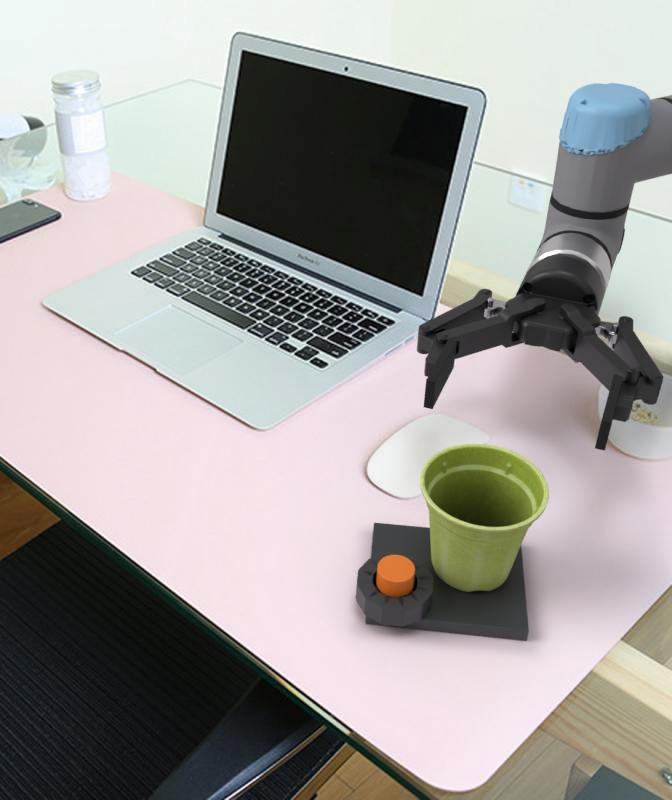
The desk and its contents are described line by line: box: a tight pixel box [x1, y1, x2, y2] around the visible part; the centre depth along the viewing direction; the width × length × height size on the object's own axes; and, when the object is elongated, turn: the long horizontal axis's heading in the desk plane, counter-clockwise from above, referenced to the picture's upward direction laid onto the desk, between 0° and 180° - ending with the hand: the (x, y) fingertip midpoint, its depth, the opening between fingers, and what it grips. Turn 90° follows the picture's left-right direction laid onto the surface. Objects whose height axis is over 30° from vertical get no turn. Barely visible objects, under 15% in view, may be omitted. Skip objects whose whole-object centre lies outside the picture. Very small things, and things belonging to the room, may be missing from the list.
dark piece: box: [355, 522, 530, 642], centre depth 74 cm, size 13×11×3 cm
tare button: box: [376, 555, 415, 598], centre depth 72 cm, size 3×3×2 cm
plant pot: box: [419, 443, 550, 592], centre depth 73 cm, size 9×9×9 cm
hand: (513, 415), depth 74 cm, fingers open, 13 cm apart
